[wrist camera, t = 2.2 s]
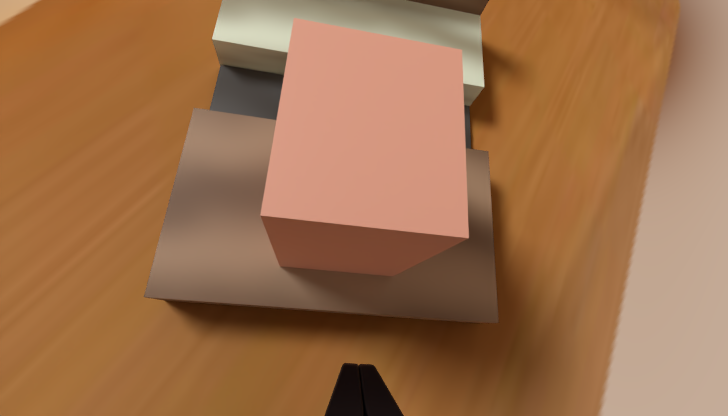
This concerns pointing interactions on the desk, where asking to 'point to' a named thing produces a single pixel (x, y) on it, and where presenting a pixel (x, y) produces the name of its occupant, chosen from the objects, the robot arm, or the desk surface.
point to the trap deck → (250, 167)
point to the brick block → (366, 153)
